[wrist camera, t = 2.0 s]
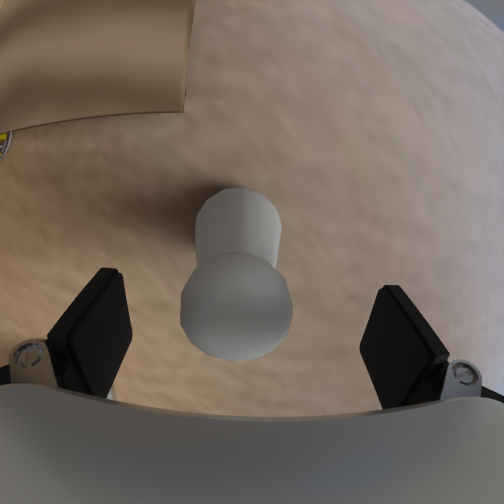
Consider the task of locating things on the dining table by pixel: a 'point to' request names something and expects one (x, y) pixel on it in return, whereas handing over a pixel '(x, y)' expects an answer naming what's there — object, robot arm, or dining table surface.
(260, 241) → the salt shaker
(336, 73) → the dining table surface
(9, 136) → the supplement bottle
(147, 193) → the dining table surface
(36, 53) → the small wooden table
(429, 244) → the dining table surface
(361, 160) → the dining table surface
